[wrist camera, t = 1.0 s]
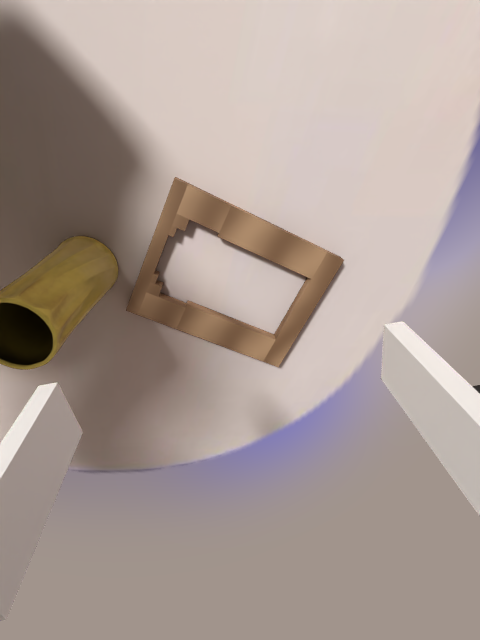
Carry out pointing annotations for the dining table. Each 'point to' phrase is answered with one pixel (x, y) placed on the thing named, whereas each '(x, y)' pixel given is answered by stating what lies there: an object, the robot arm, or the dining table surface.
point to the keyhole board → (250, 236)
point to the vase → (53, 301)
